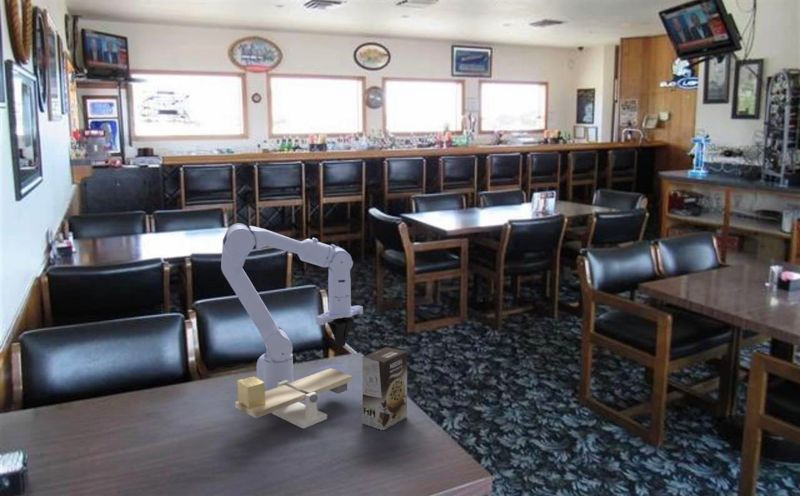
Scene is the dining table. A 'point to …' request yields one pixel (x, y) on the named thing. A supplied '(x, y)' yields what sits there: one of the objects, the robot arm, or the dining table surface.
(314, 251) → the robot arm
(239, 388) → the rider
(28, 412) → the dining table surface
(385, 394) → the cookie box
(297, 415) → the stand
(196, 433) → the dining table surface
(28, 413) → the dining table surface
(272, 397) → the beam
